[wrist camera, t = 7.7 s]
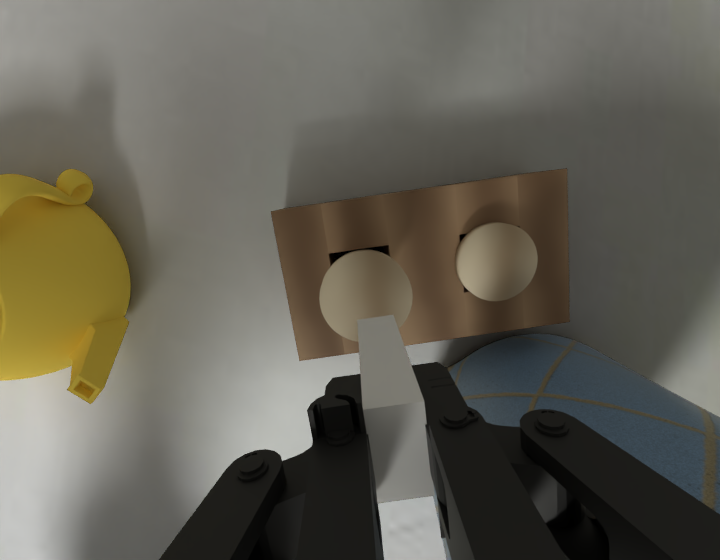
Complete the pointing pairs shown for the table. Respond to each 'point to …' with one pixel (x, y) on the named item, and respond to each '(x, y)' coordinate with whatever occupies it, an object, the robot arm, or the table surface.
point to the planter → (595, 405)
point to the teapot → (59, 283)
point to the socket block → (429, 256)
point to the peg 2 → (495, 261)
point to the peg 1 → (364, 291)
